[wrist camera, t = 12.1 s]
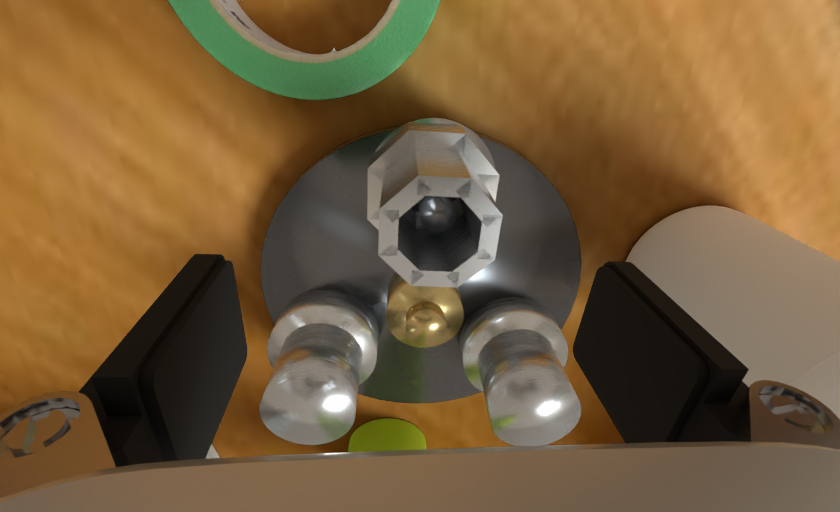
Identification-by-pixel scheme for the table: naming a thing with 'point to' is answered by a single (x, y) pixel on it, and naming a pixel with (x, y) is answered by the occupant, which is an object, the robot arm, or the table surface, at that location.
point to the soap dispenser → (386, 436)
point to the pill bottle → (752, 294)
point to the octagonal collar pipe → (433, 176)
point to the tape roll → (298, 71)
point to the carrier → (417, 305)
